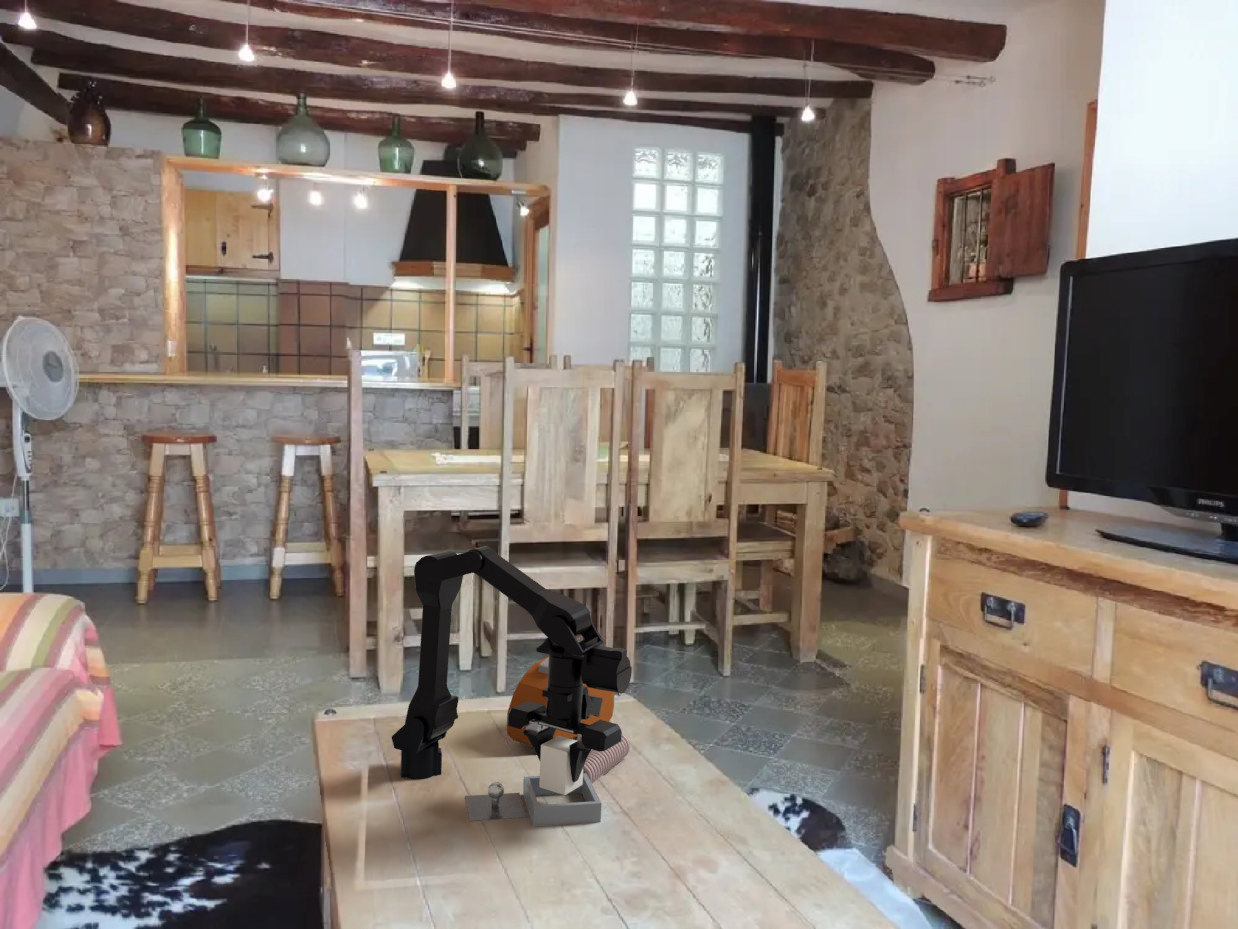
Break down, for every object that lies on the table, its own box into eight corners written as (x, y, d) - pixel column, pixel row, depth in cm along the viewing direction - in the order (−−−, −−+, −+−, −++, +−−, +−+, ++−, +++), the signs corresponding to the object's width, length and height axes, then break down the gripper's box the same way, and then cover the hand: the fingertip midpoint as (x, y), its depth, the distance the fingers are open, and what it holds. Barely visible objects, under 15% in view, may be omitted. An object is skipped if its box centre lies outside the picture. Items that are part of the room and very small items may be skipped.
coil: (592, 769, 161) (633, 735, 177) (567, 761, 163) (611, 728, 179) (588, 795, 161) (630, 759, 178) (564, 786, 163) (607, 751, 180)
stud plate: (469, 827, 147) (470, 796, 146) (464, 802, 156) (465, 773, 155) (527, 823, 149) (528, 793, 149) (519, 798, 158) (520, 770, 157)
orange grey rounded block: (580, 716, 198) (583, 638, 197) (614, 726, 193) (618, 646, 192) (503, 748, 179) (507, 661, 178) (540, 760, 174) (543, 671, 173)
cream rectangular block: (565, 795, 149) (566, 752, 148) (539, 787, 152) (540, 744, 151) (582, 784, 153) (584, 742, 153) (557, 777, 156) (558, 735, 155)
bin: (533, 832, 146) (534, 807, 146) (522, 800, 157) (523, 776, 157) (600, 828, 149) (601, 803, 148) (585, 796, 160) (586, 773, 159)
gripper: (641, 681, 153) (636, 775, 155) (547, 660, 163) (543, 748, 164) (604, 699, 144) (600, 799, 145) (507, 675, 153) (503, 769, 155)
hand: (561, 777), depth 152 cm, fingers closed on cream rectangular block, 5 cm apart
